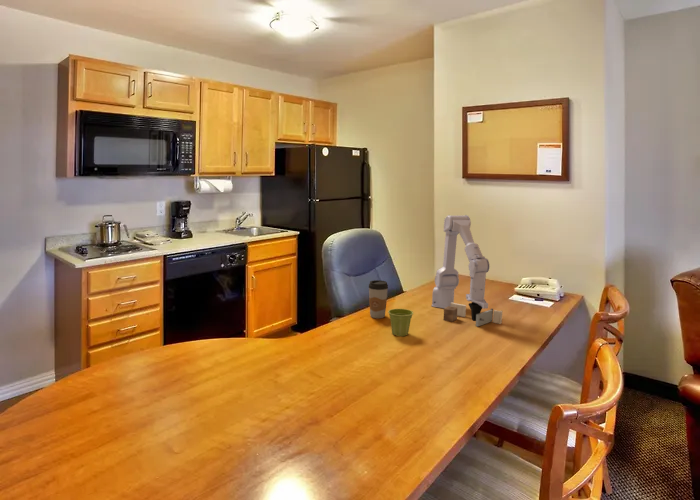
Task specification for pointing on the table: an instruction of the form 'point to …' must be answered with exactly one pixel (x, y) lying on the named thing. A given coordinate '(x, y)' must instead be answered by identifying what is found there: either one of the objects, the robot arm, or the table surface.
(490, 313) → the door
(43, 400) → the table surface
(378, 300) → the coffee cup
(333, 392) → the table surface
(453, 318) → the block
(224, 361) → the table surface
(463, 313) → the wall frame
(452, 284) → the robot arm
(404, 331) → the plant pot
